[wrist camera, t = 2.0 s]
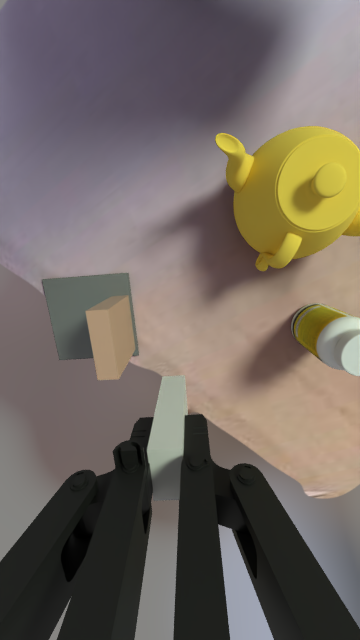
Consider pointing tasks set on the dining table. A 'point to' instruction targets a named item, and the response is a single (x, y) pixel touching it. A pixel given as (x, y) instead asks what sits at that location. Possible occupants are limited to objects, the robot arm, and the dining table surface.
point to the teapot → (294, 192)
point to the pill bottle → (329, 336)
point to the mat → (81, 309)
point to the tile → (111, 336)
